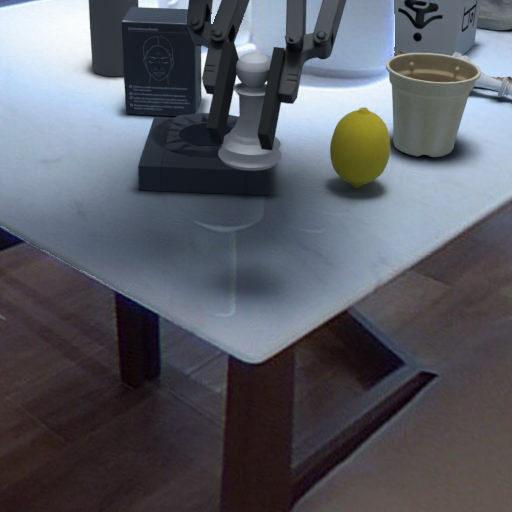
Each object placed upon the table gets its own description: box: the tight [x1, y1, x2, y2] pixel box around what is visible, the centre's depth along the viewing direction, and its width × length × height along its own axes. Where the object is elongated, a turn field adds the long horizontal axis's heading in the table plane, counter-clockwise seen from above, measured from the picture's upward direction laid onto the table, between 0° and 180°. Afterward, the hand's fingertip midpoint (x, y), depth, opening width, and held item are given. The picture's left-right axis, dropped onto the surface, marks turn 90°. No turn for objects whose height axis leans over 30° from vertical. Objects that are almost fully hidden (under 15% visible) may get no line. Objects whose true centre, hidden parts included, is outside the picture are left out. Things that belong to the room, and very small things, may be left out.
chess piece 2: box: [453, 52, 512, 98], centre depth 113 cm, size 4×4×10 cm
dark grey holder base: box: [137, 112, 270, 196], centre depth 94 cm, size 12×14×2 cm
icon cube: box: [394, 0, 481, 56], centre depth 126 cm, size 10×10×10 cm
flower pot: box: [385, 53, 482, 158], centre depth 98 cm, size 9×9×9 cm
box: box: [121, 6, 203, 117], centre depth 105 cm, size 8×6×11 cm
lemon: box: [329, 107, 391, 189], centre depth 89 cm, size 6×6×8 cm
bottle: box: [88, 0, 140, 77], centre depth 114 cm, size 6×6×15 cm
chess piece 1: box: [218, 52, 283, 171], centre depth 69 cm, size 5×5×8 cm
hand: (239, 138), depth 66 cm, fingers closed on chess piece 1, 3 cm apart
